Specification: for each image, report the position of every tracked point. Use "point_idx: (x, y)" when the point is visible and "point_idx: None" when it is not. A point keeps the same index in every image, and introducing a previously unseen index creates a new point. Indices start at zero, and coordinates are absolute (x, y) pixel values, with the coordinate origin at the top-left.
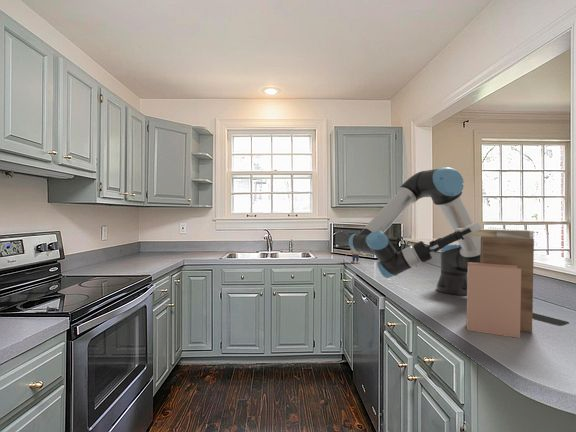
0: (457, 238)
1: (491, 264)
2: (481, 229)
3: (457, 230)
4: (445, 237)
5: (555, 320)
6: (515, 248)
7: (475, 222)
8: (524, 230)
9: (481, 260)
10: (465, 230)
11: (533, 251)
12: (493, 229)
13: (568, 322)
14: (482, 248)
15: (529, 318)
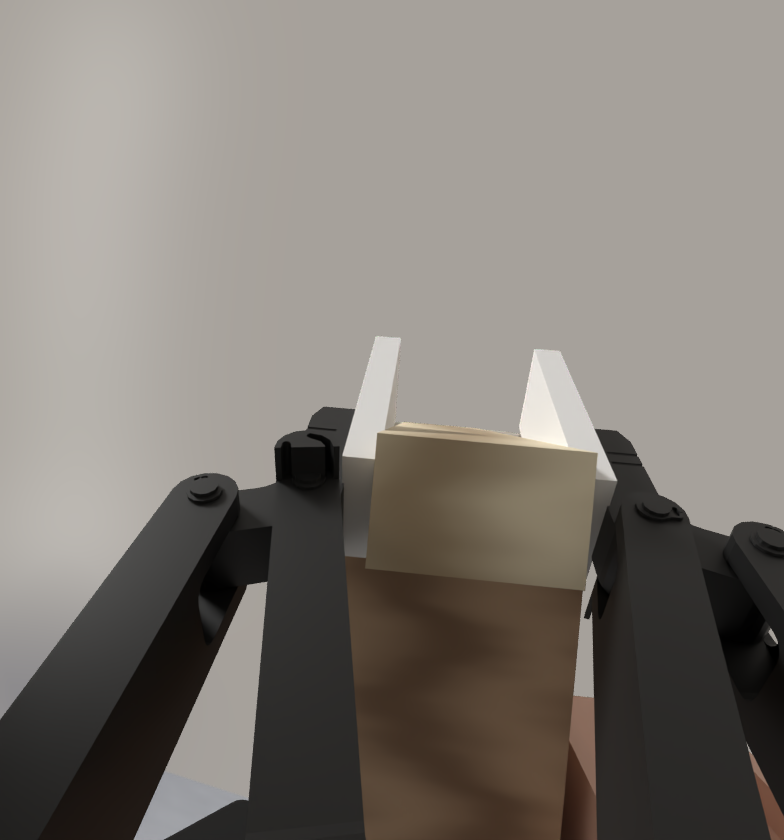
0: (758, 641)
1: (589, 756)
2: (516, 436)
3: (585, 481)
4: (673, 738)
5: (227, 832)
6: None
7: (398, 347)
8: (464, 427)
9: (432, 768)
10: (638, 470)
11: None
12: (434, 427)
13: (247, 801)
14: (536, 640)
15: None
